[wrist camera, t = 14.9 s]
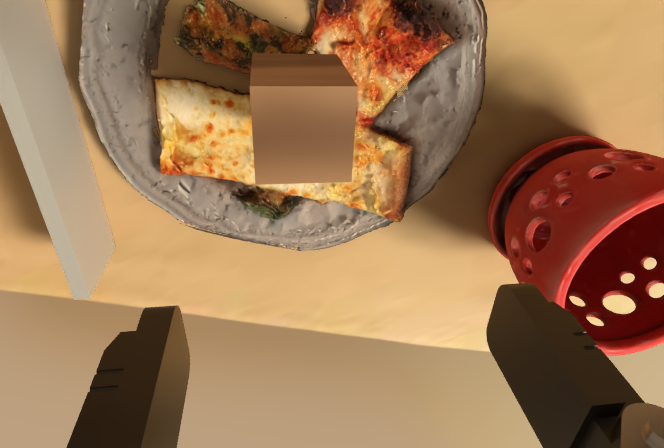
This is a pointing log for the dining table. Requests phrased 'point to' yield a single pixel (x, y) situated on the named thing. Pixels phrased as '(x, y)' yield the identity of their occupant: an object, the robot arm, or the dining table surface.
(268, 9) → the dining table surface
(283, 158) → the walnut block
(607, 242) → the plant pot
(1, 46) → the grey divider panel
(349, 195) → the food plate
